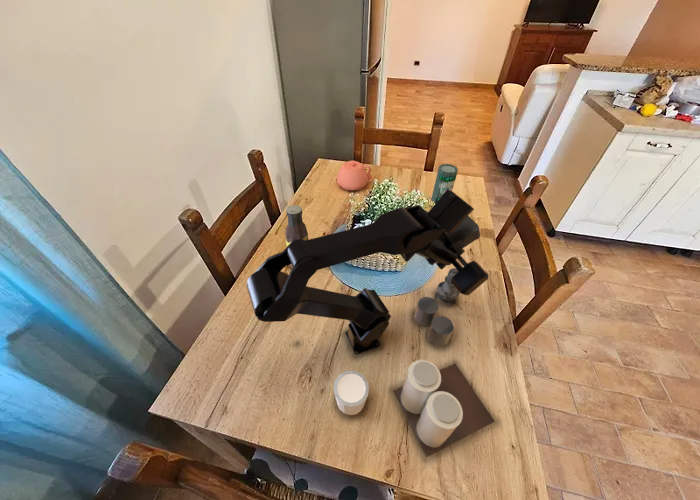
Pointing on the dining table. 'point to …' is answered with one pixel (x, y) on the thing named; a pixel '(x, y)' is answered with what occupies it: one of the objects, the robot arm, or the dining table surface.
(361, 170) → the sugar bowl
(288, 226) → the sauce bottle
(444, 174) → the can
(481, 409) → the walnut board
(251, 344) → the dining table surface
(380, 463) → the dining table surface
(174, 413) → the dining table surface
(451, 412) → the white shaker front
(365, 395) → the white candle jar
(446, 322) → the grey jar
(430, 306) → the grey jar
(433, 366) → the white shaker back
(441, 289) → the grey chess piece
